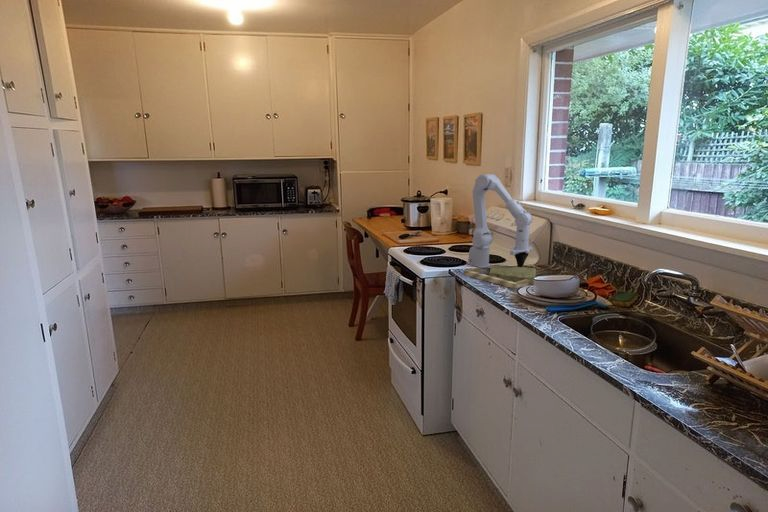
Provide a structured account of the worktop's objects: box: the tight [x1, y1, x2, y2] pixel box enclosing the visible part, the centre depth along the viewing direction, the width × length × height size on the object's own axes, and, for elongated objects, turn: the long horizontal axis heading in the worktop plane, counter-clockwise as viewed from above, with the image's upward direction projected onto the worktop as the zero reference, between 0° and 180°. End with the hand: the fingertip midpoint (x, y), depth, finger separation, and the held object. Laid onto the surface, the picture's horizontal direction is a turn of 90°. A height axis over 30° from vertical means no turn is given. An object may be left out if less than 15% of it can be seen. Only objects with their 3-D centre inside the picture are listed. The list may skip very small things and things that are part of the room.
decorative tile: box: [488, 264, 537, 285], centre depth 211 cm, size 19×20×4 cm
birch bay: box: [463, 266, 530, 290], centre depth 207 cm, size 27×10×2 cm, turn 40°
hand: (519, 268), depth 219 cm, fingers closed, pressing on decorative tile
